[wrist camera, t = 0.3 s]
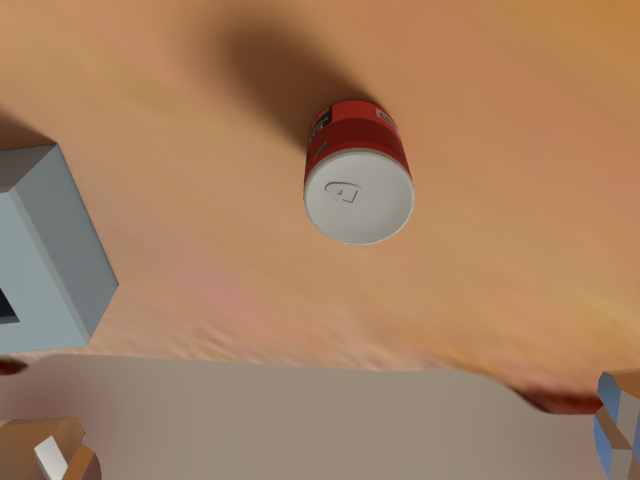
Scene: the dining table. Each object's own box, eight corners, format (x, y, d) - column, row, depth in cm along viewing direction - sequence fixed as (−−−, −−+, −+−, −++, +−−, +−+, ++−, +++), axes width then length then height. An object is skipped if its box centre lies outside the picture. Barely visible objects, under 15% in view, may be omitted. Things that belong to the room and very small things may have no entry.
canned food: (310, 93, 45) (305, 147, 36) (406, 100, 46) (424, 156, 36) (305, 175, 50) (299, 242, 40) (392, 181, 50) (406, 249, 41)
